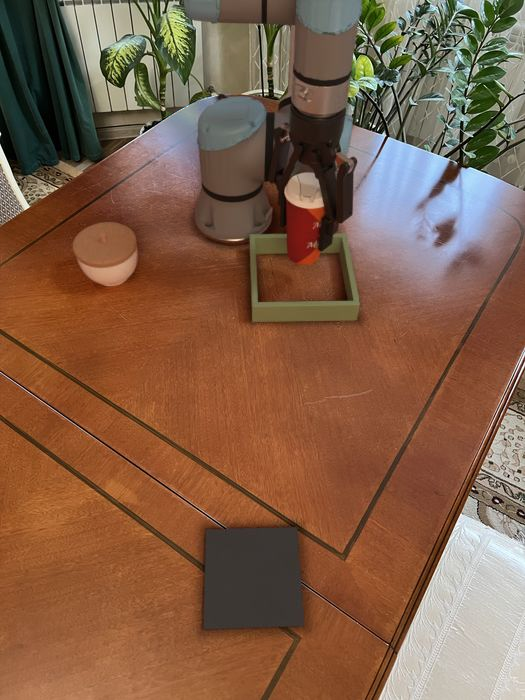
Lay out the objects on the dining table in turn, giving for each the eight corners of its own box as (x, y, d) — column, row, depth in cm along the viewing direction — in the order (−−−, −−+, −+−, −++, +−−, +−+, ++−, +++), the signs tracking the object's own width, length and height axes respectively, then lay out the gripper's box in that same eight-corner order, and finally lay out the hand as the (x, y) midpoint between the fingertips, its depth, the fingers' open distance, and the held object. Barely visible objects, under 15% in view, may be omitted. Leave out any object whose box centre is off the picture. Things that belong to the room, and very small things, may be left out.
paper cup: (322, 272, 95) (331, 204, 84) (277, 265, 96) (280, 197, 85) (328, 241, 100) (338, 173, 89) (285, 235, 101) (289, 166, 90)
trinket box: (152, 262, 106) (145, 222, 99) (125, 302, 100) (115, 262, 92) (101, 248, 108) (90, 208, 101) (71, 286, 102) (57, 247, 94)
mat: (205, 530, 75) (205, 529, 75) (296, 528, 76) (297, 526, 75) (203, 630, 68) (203, 629, 68) (304, 626, 68) (304, 625, 68)
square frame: (249, 250, 109) (249, 234, 105) (343, 249, 109) (346, 233, 106) (252, 322, 98) (252, 306, 94) (356, 320, 98) (360, 304, 95)
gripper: (244, 86, 79) (244, 217, 97) (363, 146, 71) (340, 277, 89) (280, 67, 82) (274, 197, 101) (398, 122, 74) (368, 253, 92)
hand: (305, 234), depth 95 cm, fingers closed on paper cup, 8 cm apart
